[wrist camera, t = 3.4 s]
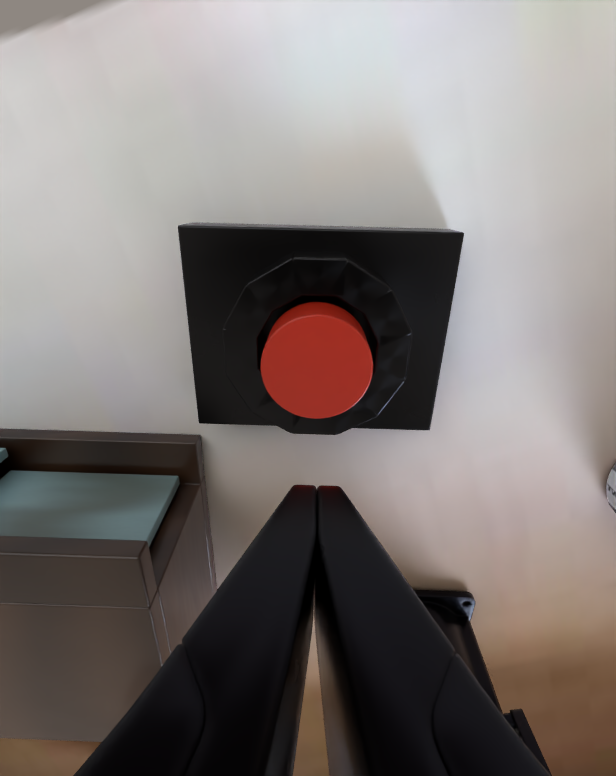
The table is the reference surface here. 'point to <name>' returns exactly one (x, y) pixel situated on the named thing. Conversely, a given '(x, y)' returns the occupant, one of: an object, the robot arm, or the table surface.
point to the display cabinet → (95, 573)
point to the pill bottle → (612, 488)
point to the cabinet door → (3, 454)
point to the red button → (316, 361)
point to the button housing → (318, 284)
